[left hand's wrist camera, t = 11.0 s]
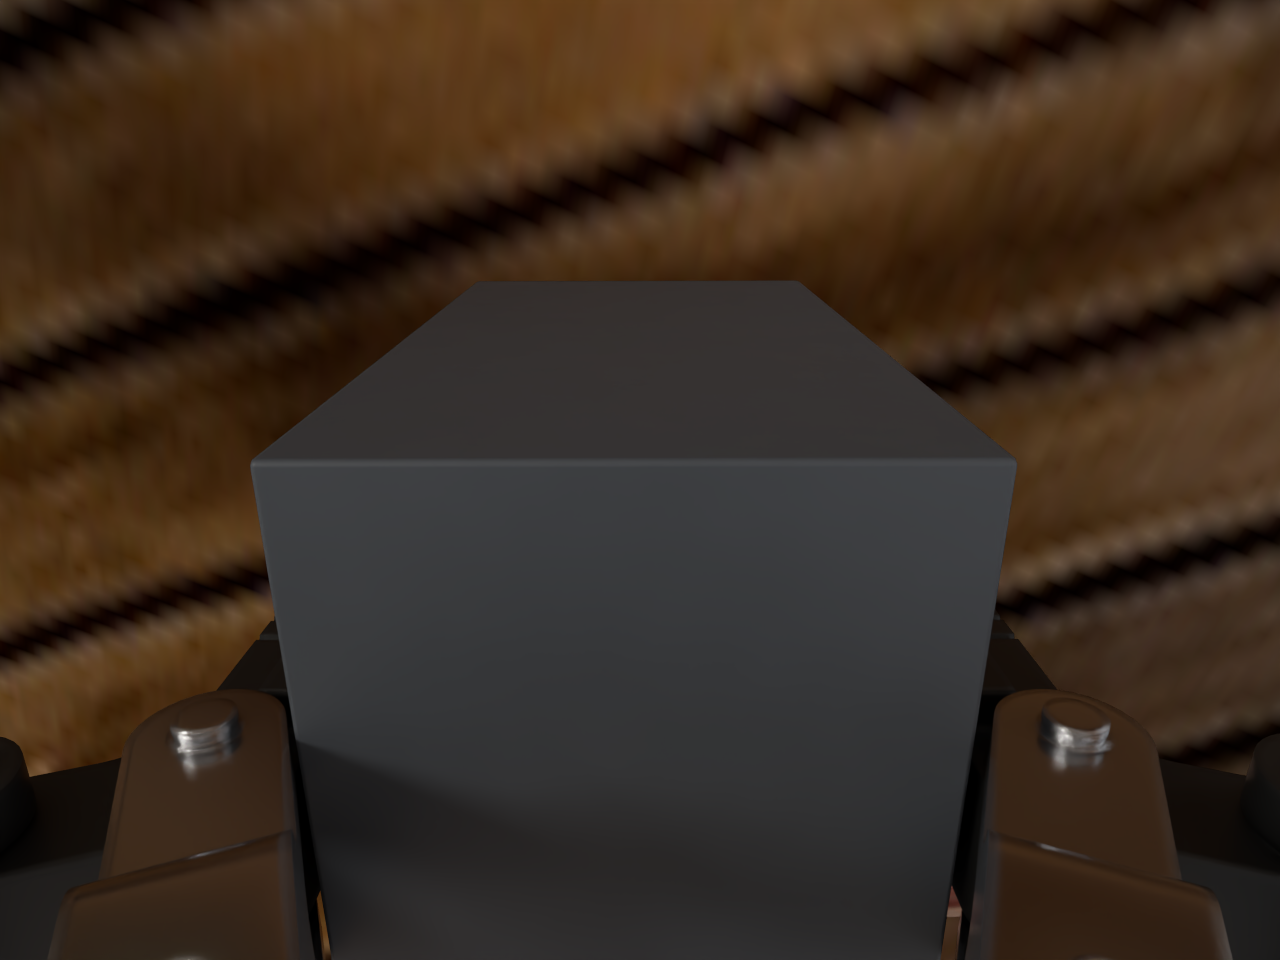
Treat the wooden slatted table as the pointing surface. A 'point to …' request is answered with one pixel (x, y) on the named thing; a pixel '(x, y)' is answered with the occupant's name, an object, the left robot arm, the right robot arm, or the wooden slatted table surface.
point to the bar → (635, 630)
